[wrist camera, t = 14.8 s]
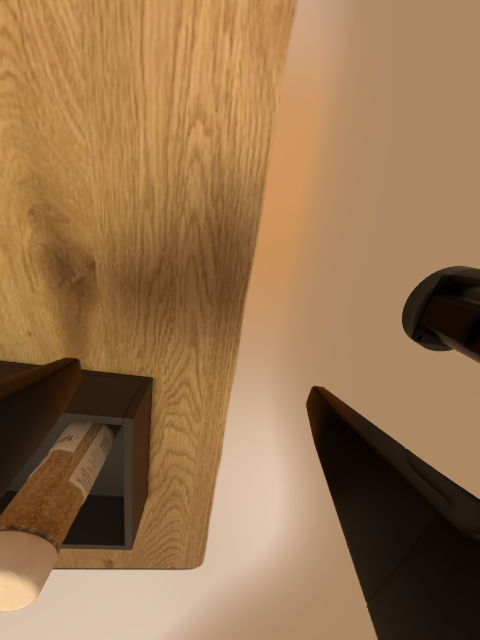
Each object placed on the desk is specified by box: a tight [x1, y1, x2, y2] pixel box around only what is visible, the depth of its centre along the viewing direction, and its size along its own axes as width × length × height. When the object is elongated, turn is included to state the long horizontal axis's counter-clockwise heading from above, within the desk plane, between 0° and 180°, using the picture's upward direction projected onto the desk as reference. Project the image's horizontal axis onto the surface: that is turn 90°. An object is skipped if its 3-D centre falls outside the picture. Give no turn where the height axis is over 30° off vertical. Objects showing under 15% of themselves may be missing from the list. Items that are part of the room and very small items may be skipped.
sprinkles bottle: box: [0, 421, 122, 612], centre depth 19 cm, size 5×5×14 cm
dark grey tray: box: [0, 361, 153, 550], centre depth 24 cm, size 22×20×6 cm
